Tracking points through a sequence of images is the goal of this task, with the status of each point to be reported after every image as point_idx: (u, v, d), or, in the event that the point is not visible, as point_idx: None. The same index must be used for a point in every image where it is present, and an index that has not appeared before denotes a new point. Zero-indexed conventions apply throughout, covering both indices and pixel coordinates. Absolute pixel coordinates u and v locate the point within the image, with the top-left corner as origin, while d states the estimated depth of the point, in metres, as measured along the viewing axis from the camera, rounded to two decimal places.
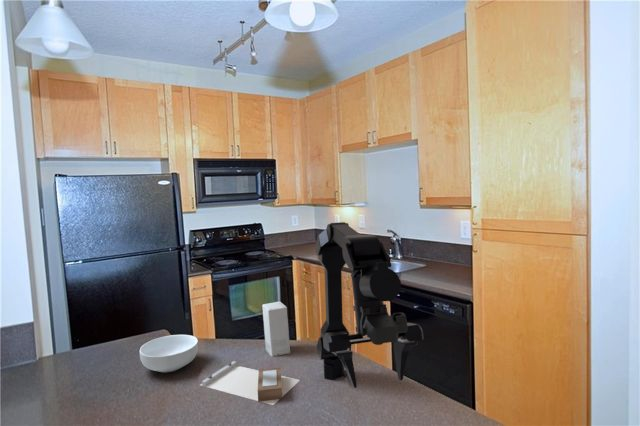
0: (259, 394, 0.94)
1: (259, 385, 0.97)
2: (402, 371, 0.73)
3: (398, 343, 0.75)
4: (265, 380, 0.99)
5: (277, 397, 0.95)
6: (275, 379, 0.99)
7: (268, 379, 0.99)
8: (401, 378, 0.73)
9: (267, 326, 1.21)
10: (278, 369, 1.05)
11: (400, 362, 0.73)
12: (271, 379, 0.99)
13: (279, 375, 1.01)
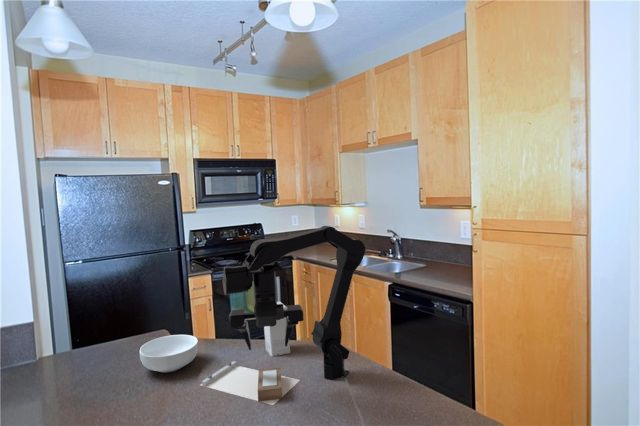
0: (259, 394, 0.94)
1: (259, 385, 0.97)
2: (286, 340, 0.99)
3: (286, 320, 0.99)
4: (265, 380, 0.99)
5: (277, 397, 0.95)
6: (275, 379, 0.99)
7: (268, 379, 0.99)
8: (285, 345, 0.99)
9: (267, 326, 1.21)
10: (278, 369, 1.05)
11: (285, 334, 0.99)
12: (271, 379, 0.99)
13: (279, 375, 1.01)
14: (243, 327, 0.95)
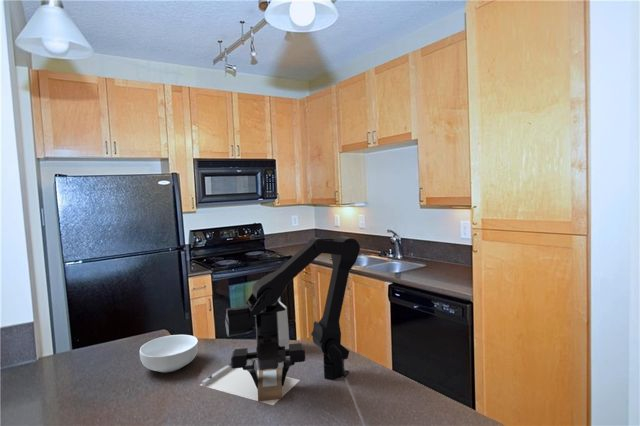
0: (259, 394, 0.94)
1: (259, 385, 0.97)
2: (283, 380, 1.00)
3: None
4: (265, 380, 0.99)
5: (277, 397, 0.95)
6: (275, 379, 0.99)
7: (268, 379, 0.99)
8: (282, 385, 1.00)
9: None
10: (278, 369, 1.05)
11: (282, 374, 0.99)
12: (271, 379, 0.99)
13: (279, 375, 1.01)
14: (251, 367, 0.96)
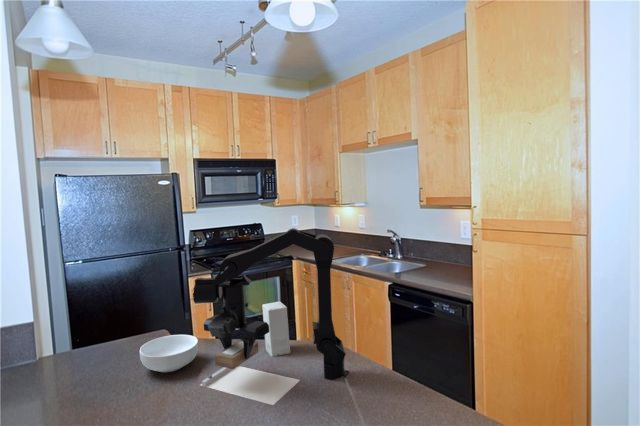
0: (216, 358, 1.01)
1: (222, 351, 1.03)
2: (245, 353, 1.03)
3: None
4: (230, 348, 1.04)
5: (229, 366, 0.99)
6: (238, 350, 1.03)
7: (234, 348, 1.04)
8: (245, 357, 1.03)
9: None
10: (254, 343, 1.08)
11: None
12: (235, 349, 1.04)
13: None
14: None
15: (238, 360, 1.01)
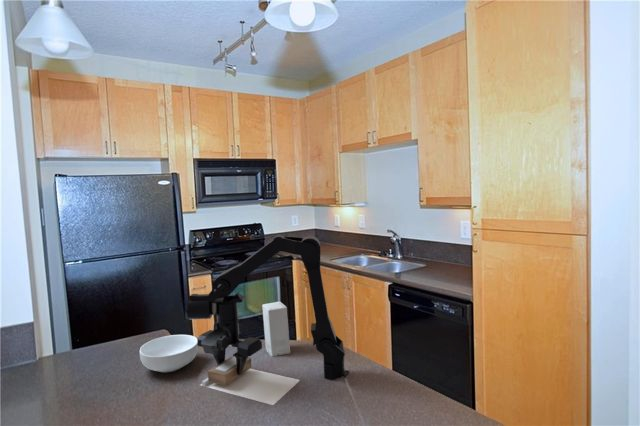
0: (209, 374, 1.03)
1: (215, 367, 1.05)
2: (238, 369, 1.04)
3: None
4: (224, 364, 1.06)
5: (221, 382, 1.01)
6: (231, 366, 1.05)
7: (227, 364, 1.06)
8: (238, 373, 1.05)
9: (267, 326, 1.21)
10: (247, 359, 1.09)
11: None
12: (228, 365, 1.05)
13: None
14: None
15: (231, 376, 1.02)
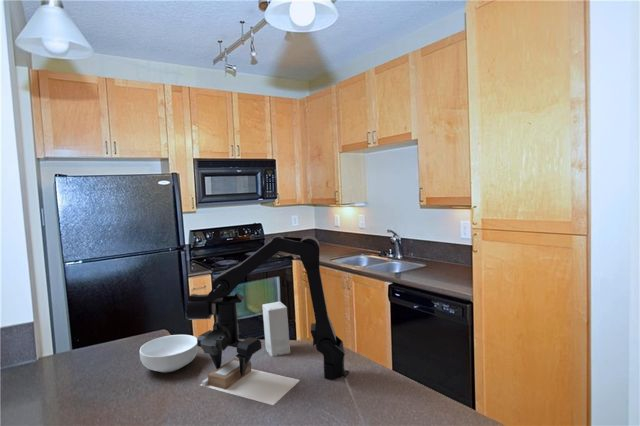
0: (209, 378, 1.03)
1: (215, 371, 1.05)
2: (241, 370, 1.04)
3: None
4: (223, 368, 1.06)
5: (221, 386, 1.01)
6: (231, 370, 1.05)
7: (227, 368, 1.06)
8: (241, 374, 1.04)
9: (267, 326, 1.21)
10: None
11: None
12: (228, 369, 1.06)
13: (239, 368, 1.06)
14: None
15: (231, 380, 1.03)
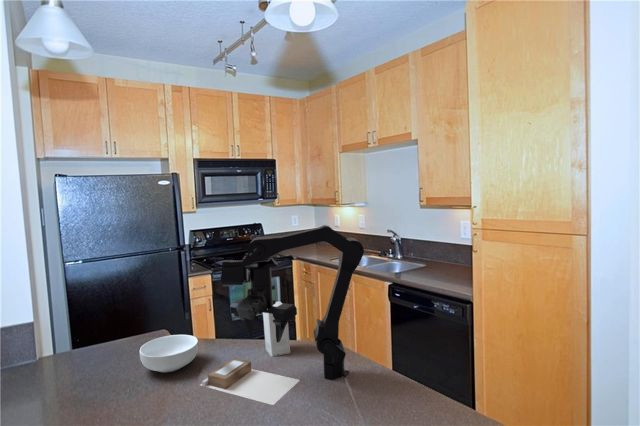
0: (209, 378, 1.03)
1: (215, 371, 1.05)
2: (277, 337, 1.02)
3: None
4: (223, 368, 1.06)
5: (221, 386, 1.01)
6: (231, 370, 1.05)
7: (227, 368, 1.06)
8: (277, 341, 1.02)
9: (267, 326, 1.21)
10: (246, 362, 1.10)
11: None
12: (228, 369, 1.06)
13: (239, 368, 1.06)
14: None
15: (231, 380, 1.03)
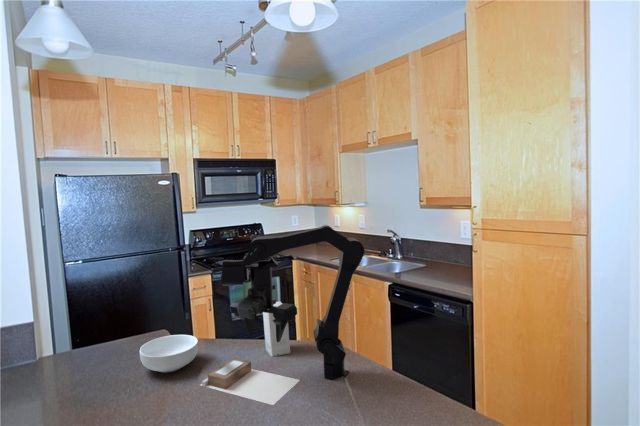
0: (209, 378, 1.03)
1: (215, 371, 1.05)
2: (277, 336, 1.02)
3: None
4: (223, 368, 1.06)
5: (221, 386, 1.01)
6: (231, 370, 1.05)
7: (227, 368, 1.06)
8: (277, 341, 1.02)
9: (267, 326, 1.21)
10: (246, 362, 1.10)
11: None
12: (228, 369, 1.06)
13: (239, 368, 1.06)
14: None
15: (231, 380, 1.03)
